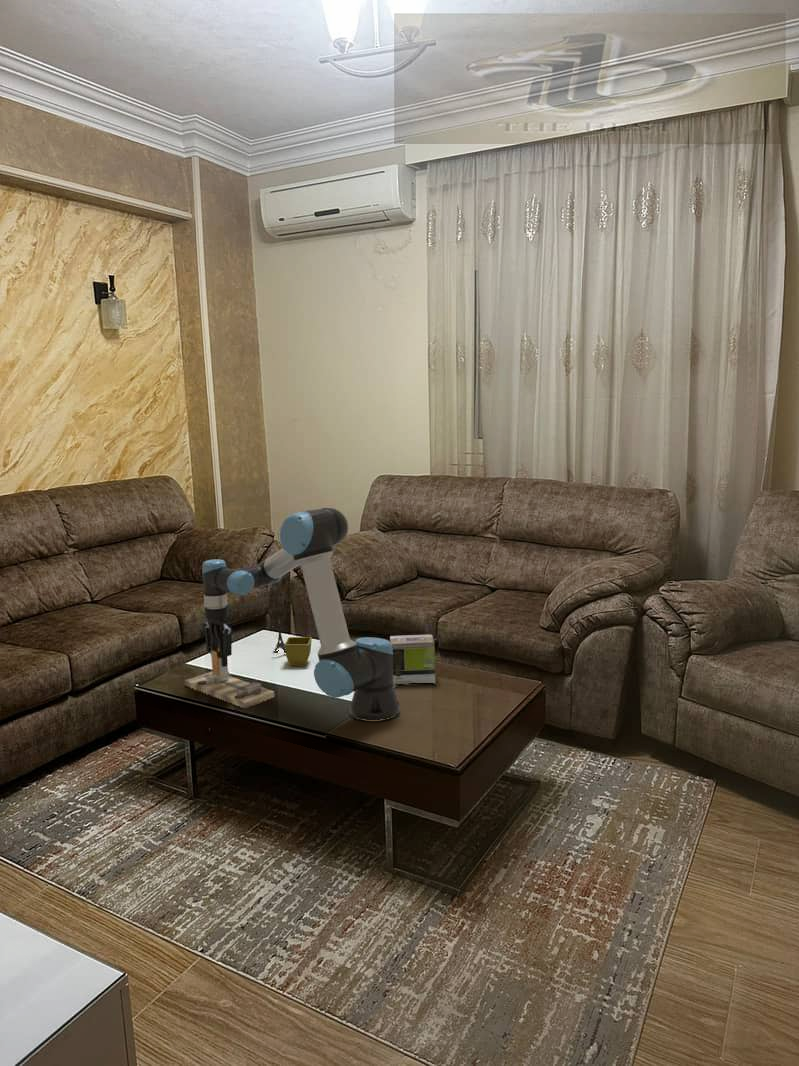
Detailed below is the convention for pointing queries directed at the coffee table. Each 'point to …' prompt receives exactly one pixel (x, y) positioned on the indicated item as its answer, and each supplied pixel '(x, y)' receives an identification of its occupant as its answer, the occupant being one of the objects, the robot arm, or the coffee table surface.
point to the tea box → (413, 659)
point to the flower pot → (298, 650)
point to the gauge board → (232, 690)
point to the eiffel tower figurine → (279, 645)
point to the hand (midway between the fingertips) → (220, 674)
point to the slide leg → (216, 669)
